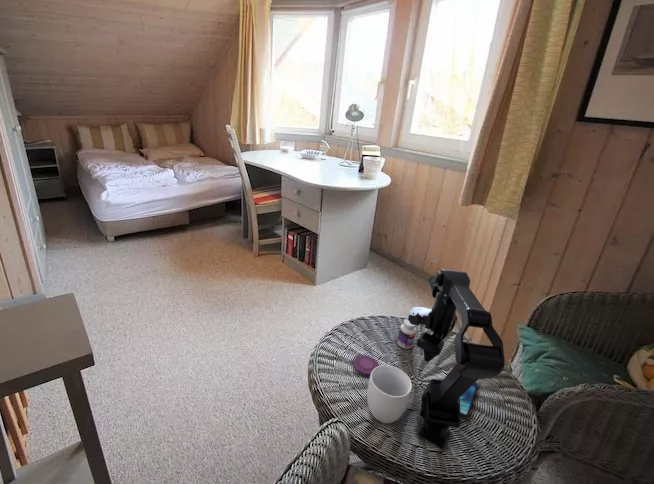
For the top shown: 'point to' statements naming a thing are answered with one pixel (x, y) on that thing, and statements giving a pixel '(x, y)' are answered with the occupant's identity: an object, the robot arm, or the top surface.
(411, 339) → the pill bottle
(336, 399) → the top surface
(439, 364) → the top surface
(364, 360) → the plum saucer
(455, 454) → the top surface
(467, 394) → the smartphone
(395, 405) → the mug
